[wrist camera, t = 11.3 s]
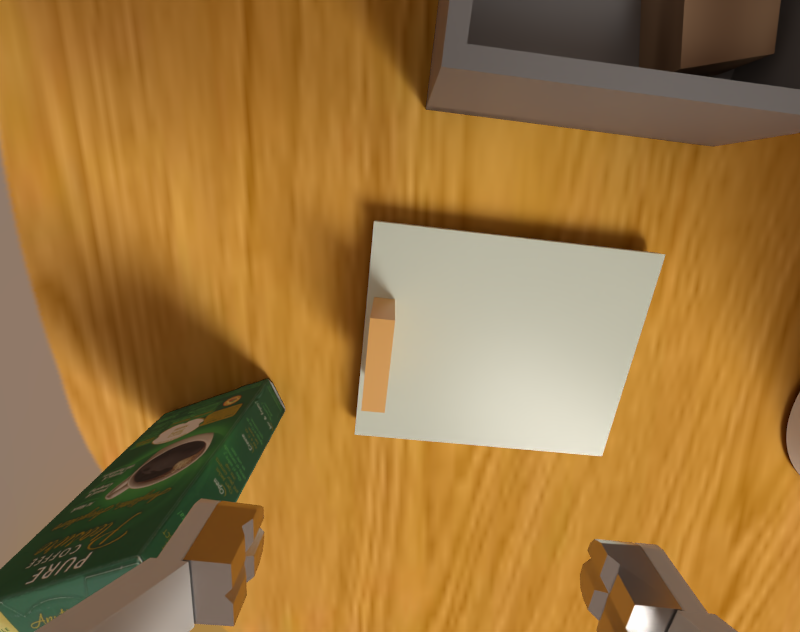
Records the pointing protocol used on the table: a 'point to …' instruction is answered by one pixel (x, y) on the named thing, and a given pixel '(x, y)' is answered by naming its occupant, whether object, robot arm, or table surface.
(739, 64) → the walnut block
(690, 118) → the tub
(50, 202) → the table surface
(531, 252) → the lid
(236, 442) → the coffee box
